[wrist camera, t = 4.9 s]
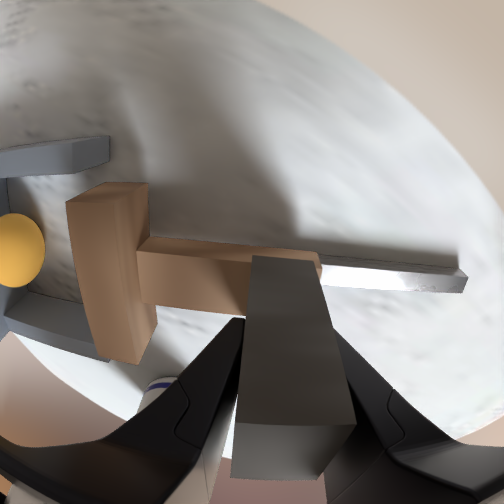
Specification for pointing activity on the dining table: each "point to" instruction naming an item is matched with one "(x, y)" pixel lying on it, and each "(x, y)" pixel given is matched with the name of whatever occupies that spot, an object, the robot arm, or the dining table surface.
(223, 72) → the dining table surface
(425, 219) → the dining table surface
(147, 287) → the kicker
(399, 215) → the dining table surface
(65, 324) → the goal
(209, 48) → the dining table surface
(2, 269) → the ball
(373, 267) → the rail
